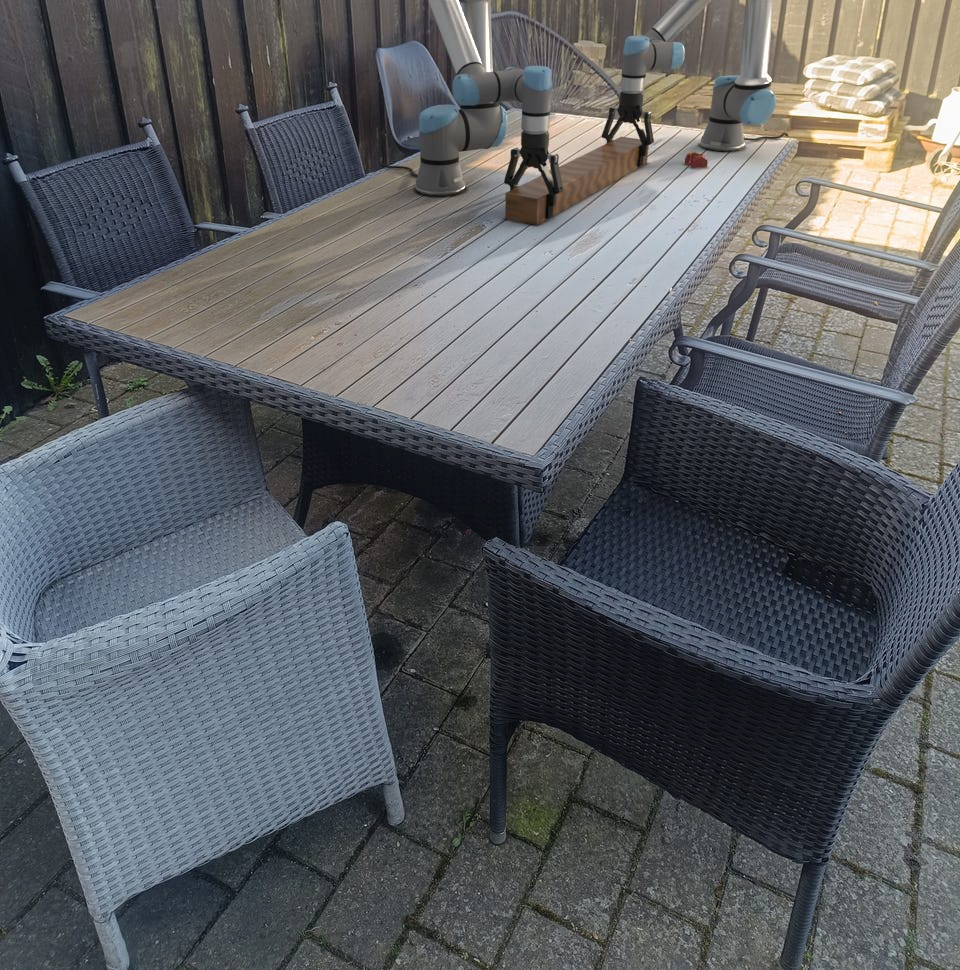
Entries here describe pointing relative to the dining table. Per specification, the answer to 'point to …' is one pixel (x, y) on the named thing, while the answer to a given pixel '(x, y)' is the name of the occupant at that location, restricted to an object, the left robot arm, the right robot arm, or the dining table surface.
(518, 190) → the thick board
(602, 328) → the dining table surface
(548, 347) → the dining table surface
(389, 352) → the dining table surface
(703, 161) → the dark red rounded lump
